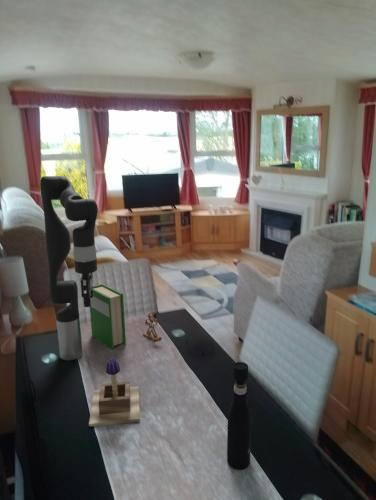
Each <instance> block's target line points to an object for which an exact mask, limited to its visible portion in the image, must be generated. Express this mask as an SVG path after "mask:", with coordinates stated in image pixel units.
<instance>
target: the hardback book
mask: <svg viewBox="0 0 376 500" xmlns="http://www.w3.org/2000/svg"><path fill="white" fill-rule="evenodd" d="M92 288H93V297H92V298H90V301H91V306H90V307H89V312H90V323H91V326H90V327H91V336H92V337H94V338H95V339H96V340H97V341H99V342H100V343H102V344H103V345H105V346H107V348H109V349H111V350H113V349H114V346H115V347H116V346H117V345H120V344H123V345H126V344H127V341H126V323H125V322H126V321H125V304H124V303H125V302H124V293H122V292H121V291H118V290H116V289H114V288H112V287H110V286H108V285H106V284H104V283H101V284H96V285H93V287H92Z"/></svg>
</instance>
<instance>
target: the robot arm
mask: <svg viewBox="0 0 376 500" xmlns="http://www.w3.org/2000/svg"><path fill="white" fill-rule="evenodd" d="M39 186H40V187H39V189H40V197H41V201H42V202H41V204H42V209H43V210H42V211H43V216H44V231H45V244H46V245H45V247H46V254H47V262H48V276H49V277H48V281H49V283H48V284H49V285H48V286H49V289H48V290H49V298H50V302H51V303H52V305H64V304H68V305H67V306H65V307H63V308H62V307H61V308H60V309H59V310H57V312H56V314H55V320H56V329H57V330H56V331H57V339H58V347H59V357H60V359H61V360H64V361H74V360H77V359H79V358H81V357H82V356H83V343H82V331H81V320H80V311H79V310H80V309H79V290H78V289H79V288H78V283H77V281H75V280H70V279H69V280H58V277H59V274H60V270H61V268H62V266H63V264H64V263H65V261H66V260H67V258H68V257H69V256H68V255H69V254H70V251H71V250H72V249H73V253H72V254H73V262H74V271H75V273H77V274H81V277H80V280H79V281H80V289H81V298H83V307H84V308H90V306H91V301H90V298H92V297H93V288H92V287H93V286H94V274H93V273H95V272H97V271H98V260H97V259H98V257H97V250H96V244H95V243H96V242H95V240H96V239H95V228H96V222H97V217H98V213H99V207H98V204H97V202H96V201H95V200H94V199H93V198H83V196H81V195H80V194H79V193H78V192H77V191H76V190H75V188H74V185H73V184H72V183H71V181H70V180H69V178H68V177H67V176H63V175H51V176H50V175H49V176H47V175H45V176H42V177H41V178H40V180H39ZM53 201H59V202H60V204H61V206H62V208H64V215H65V216H66V219H67V220H69V221H70V222H81V221H85V222H84V224H83V225H80V226H78V227H76V228H74V229H73V230H72V242H73V243H72V244H73V248H72V249H71V247H72V246H71V236H70V235H71V234H70V231H69V229H68V227H67V226H66V225H65V223H64V222H63V221H62V220H61V219H60V217H59V216H58V214H57V212H56V211H55V209H54V206H53Z"/></svg>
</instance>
